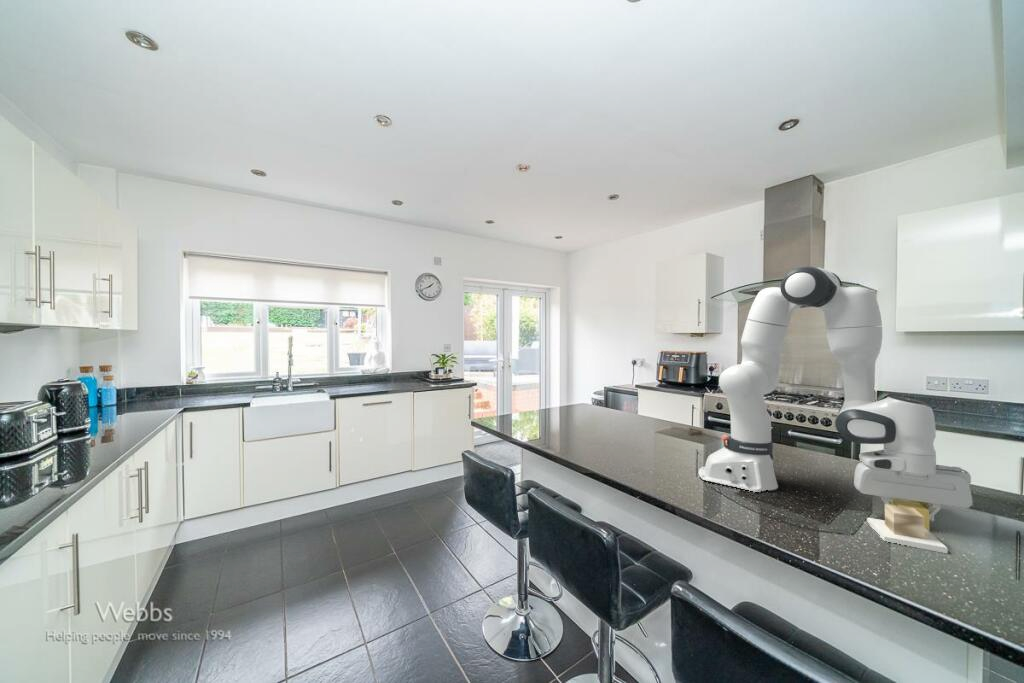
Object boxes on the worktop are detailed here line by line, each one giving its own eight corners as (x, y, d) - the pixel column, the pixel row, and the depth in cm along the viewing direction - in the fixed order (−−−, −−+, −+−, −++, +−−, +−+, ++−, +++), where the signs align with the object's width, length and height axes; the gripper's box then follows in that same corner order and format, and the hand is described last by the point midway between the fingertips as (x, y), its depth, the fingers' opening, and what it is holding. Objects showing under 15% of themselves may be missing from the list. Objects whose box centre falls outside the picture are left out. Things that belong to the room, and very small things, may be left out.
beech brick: (894, 533, 84) (893, 512, 84) (884, 524, 88) (884, 503, 88) (924, 539, 81) (924, 517, 81) (913, 529, 86) (913, 508, 85)
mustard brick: (900, 526, 89) (900, 506, 89) (891, 517, 94) (891, 498, 93) (929, 531, 87) (929, 510, 87) (918, 521, 91) (918, 502, 91)
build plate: (884, 541, 82) (884, 536, 82) (867, 522, 91) (866, 517, 91) (947, 553, 78) (947, 547, 78) (922, 531, 87) (922, 526, 87)
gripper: (962, 464, 88) (962, 520, 88) (851, 452, 98) (851, 503, 98) (979, 472, 82) (980, 532, 82) (860, 459, 92) (860, 513, 92)
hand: (909, 516), depth 90 cm, fingers closed on mustard brick, 5 cm apart
